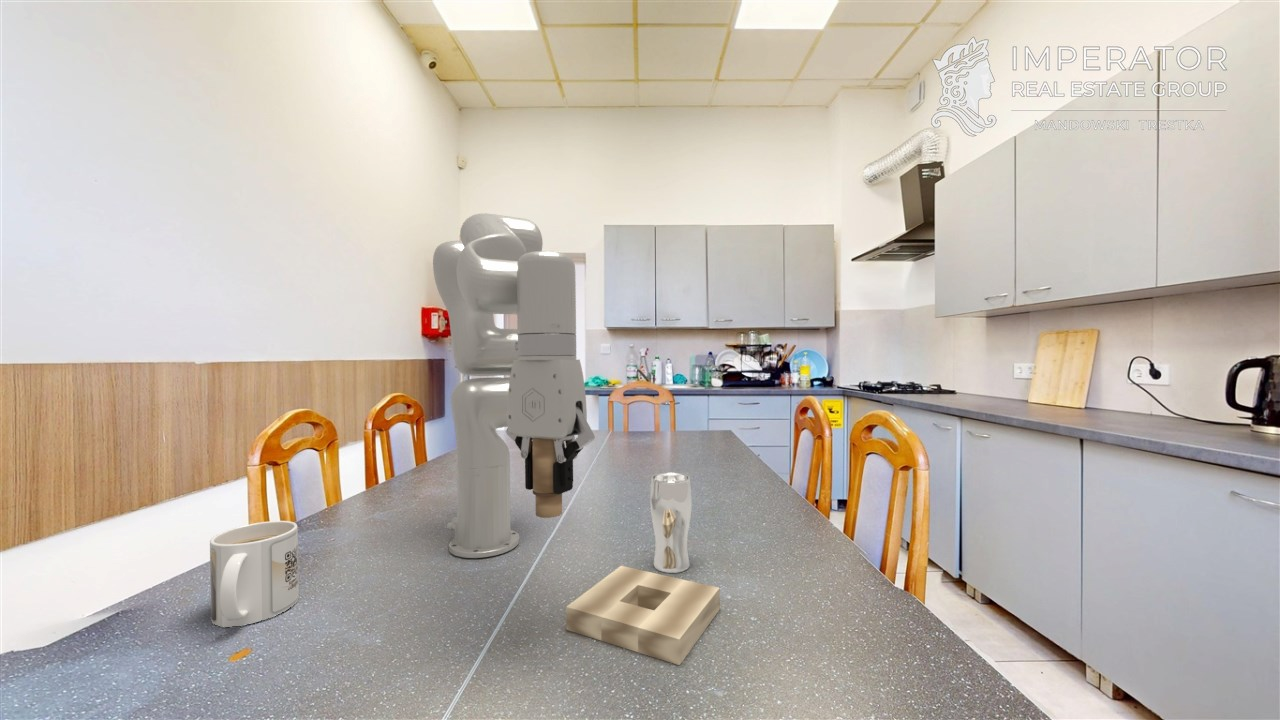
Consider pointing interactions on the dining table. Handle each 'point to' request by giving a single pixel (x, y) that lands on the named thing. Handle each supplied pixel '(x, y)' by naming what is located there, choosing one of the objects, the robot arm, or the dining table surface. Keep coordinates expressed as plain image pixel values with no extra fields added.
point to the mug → (253, 572)
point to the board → (645, 613)
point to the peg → (545, 478)
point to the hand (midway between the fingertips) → (549, 488)
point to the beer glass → (671, 520)
